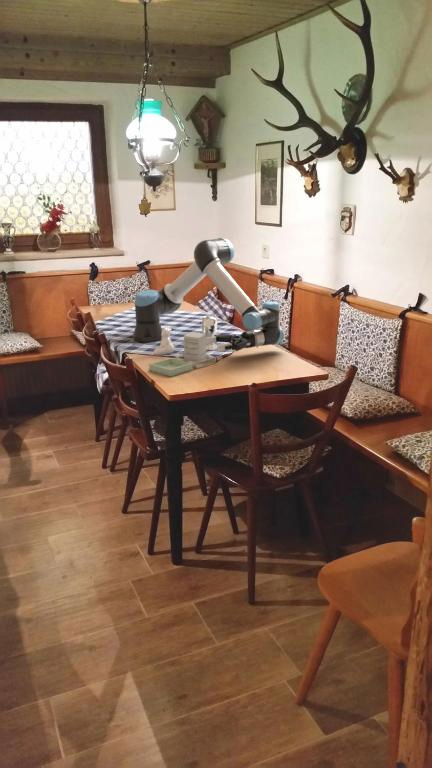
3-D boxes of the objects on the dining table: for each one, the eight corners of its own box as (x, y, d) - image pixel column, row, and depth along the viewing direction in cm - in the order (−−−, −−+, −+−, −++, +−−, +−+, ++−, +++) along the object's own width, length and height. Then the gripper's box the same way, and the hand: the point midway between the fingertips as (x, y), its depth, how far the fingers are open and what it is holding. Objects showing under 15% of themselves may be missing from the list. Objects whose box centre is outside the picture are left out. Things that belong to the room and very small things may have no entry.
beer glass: (215, 351, 275) (215, 319, 270) (200, 350, 276) (200, 318, 272) (218, 347, 282) (218, 316, 277) (204, 346, 283) (203, 315, 278)
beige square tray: (174, 363, 257) (174, 357, 256) (195, 357, 266) (194, 351, 265) (195, 369, 249) (195, 363, 248) (216, 362, 258) (216, 357, 257)
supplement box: (191, 359, 262) (191, 331, 258) (206, 362, 259) (206, 333, 255) (183, 364, 256) (183, 335, 252) (199, 366, 253) (198, 337, 249)
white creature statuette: (160, 349, 279) (159, 324, 275) (177, 350, 277) (177, 325, 273) (152, 354, 270) (151, 328, 266) (170, 356, 268) (170, 330, 264)
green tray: (149, 370, 247) (149, 363, 246) (171, 364, 256) (171, 357, 255) (170, 377, 239) (170, 370, 238) (192, 370, 248) (192, 363, 247)
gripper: (266, 353, 258) (223, 360, 248) (237, 340, 279) (197, 346, 269) (267, 336, 256) (223, 342, 246) (238, 325, 276) (196, 330, 267)
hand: (209, 344), depth 258 cm, fingers open, 13 cm apart
